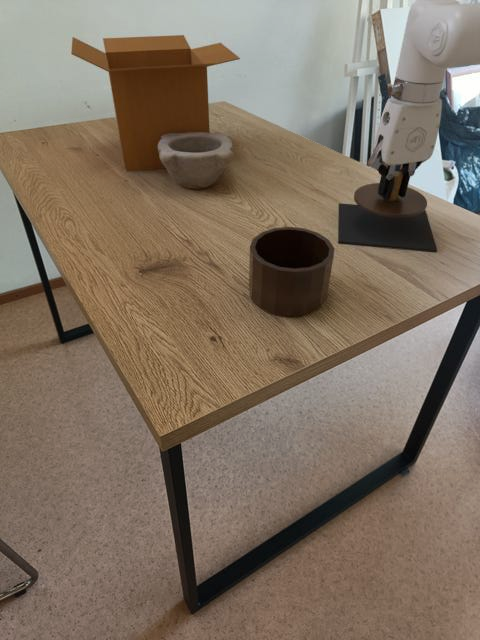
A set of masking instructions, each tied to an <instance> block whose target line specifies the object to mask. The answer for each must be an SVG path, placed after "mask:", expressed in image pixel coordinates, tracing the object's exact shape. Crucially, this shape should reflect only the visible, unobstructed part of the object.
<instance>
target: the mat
mask: <svg viewBox="0 0 480 640" xmlns="http://www.w3.org/2000/svg"><path fill="white" fill-rule="evenodd" d="M337 225H338V230H337V231H338V233H337V235H338V236H337V243H338V244H342V245H351V246H352V245H353V246H363V247H373V248H384V249H385V248H386V249H397V250H408V251H419V252H430V253H437V252H438V248H437V247H438V246H437V244H436V240H435V237H434V234H433V231H432V228H431V224H430V221H429V217H428V214H427V210H426V209H425V211H423V212H422V213H421V214H419V215H416V216H412V217H405V218H393V217H385V216H380V215H376V214H373V213H370V212H368V211H366V210H364V209H362V208H361V207H359V206H358V205H357V204H354V203H353V204H352V203H338V224H337Z"/></svg>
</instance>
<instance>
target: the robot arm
mask: <svg viewBox="0 0 480 640" xmlns="http://www.w3.org/2000/svg"><path fill="white" fill-rule="evenodd" d="M408 10H409V11H408V15H407V18H406V23H405V29H404V33H403V38H402V43H401V47H400V52H399V57H398V62H397V66H396V72H395V77H394V80H393V84H392V85H389V86H388V88H387V94H388V95H389V96H390V98H388V99H387V101H386V103H385V106H384V108H383V111H382V114H381V117H380V120H379V123H378V127H377V129H376V134H375V138H374V143H373V149H372V154H371V155H370V158H369V159H368V161H367V166H369V167H371V168H372V169H374V170H376V171H377V172H378V174H379V175H380V179H379V182H378V183H379V188H378V194H379V195H380V196H381V197H383V198H384V199H385V200H389V199H390V197H391V193H392V189H393V185H394V179H392V177H393V174H394V171H396V167H397V166H400V167H399V170H398V171H399V172H401V173H403V178H402V182H401V186H400V190H399V194H398V195H399V196H400V197H405V195H406V191H407V187H408V186H409V184H410V179H411V177H413V176H414V175H415V173H416V170H418V169H419V167H420V166H421V165H422V164H423V163H425V162H426V161H428V160H430V159H431V157H432V156H433V153H434V150H435V147H436V144H437V140H438V136H439V135H438V134H439V129H440V125H441V118H442V109H443V108H442V107H443V102H442V99H441V98H440V95H441V92H442V88H443V84H444V81H445V78H446V74H447V71H448V69H454V68H464V67H471V66H478V65H480V2H479V1H478V2H473V3H472V2H471V3H461V2H459V1H458V0H415V1H413V3H412V4H411V5H410V8H409V9H408Z"/></svg>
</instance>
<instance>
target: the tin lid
mask: <svg viewBox="0 0 480 640" xmlns="http://www.w3.org/2000/svg"><path fill="white" fill-rule="evenodd" d="M399 171H400V170H395V171H394V174H393V177H392V179H394V185H393V189H392V193H391V197H390V199H389V200H385V199H384V198H383V197H381V196H380V195H379V194H378V188H379V183H380V182H374V183H367V184H365V185H362V186H360V187H357V188H356V190H355V191H354V194H353V200H354V202H355V205H358V206H359V207H361V208H362V209H364V210H366V211H368V212H370V213H373V214H376V215H380V216H385V217H393V218H405V217H412V216H416V215H419V214H421V213H422V212H423V211H425V210H426V209H427V207H428V199H427V198H426V196H424V194H422V193H421V192H419V191H418V190H416V189H414V188H411V187H407V191H406V195H405V197H400V196H399V195H398V194H399V190H400V186H401V182H402V178H403V173H401V172H399Z"/></svg>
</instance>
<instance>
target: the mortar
mask: <svg viewBox="0 0 480 640" xmlns="http://www.w3.org/2000/svg"><path fill="white" fill-rule="evenodd" d="M233 148H234V144H233V142H232V140H231V138H230V135H229V134H227V133H225V132H219V131H218V132H210V133H207V132H187V133H168V134H164V135H163V136H161V140H160V141H159V143H158V152H159V157H160V160H161V162H162V163H163V165H164V166H165V167H164V168H165V169H166V171H167V172H168V174H169V175H170V177H171V178H172V179H173V181H174V182H175V183H176V184H177V185H179V186H181V187H182V188H187V189H191V190H193V189H194V190H199V189H205V188H209V187H211V186H213V185H214V184H216V183H217V182H218V180H219V179H220V178H221V176H222V174H223V173H224V171H225V169H226V168H227V167H228V166H230V165H231V163H232V162H233V161H234V157H235V154H234V151H233Z"/></svg>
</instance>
